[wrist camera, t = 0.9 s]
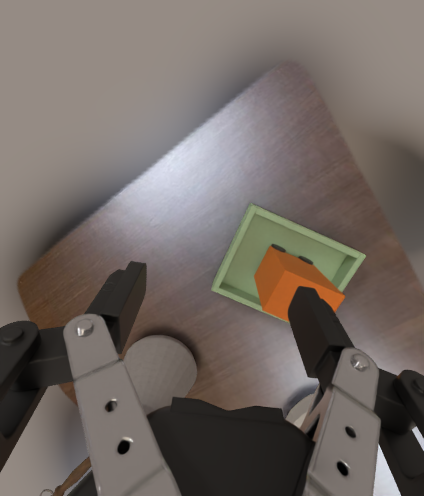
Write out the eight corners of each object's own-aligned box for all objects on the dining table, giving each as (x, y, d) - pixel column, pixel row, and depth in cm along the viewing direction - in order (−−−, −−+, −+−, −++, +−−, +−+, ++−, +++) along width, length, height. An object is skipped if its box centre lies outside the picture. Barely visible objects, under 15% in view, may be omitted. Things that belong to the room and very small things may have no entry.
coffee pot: (165, 312, 36) (122, 398, 22) (213, 361, 38) (203, 470, 24) (81, 378, 41) (0, 483, 27) (127, 419, 43) (74, 538, 29)
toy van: (252, 275, 33) (260, 313, 23) (269, 241, 31) (286, 267, 22) (294, 293, 33) (320, 338, 24) (314, 261, 32) (350, 295, 22)
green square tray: (212, 282, 34) (211, 290, 32) (250, 202, 31) (251, 204, 28) (307, 323, 35) (314, 334, 32) (355, 249, 31) (366, 255, 29)
